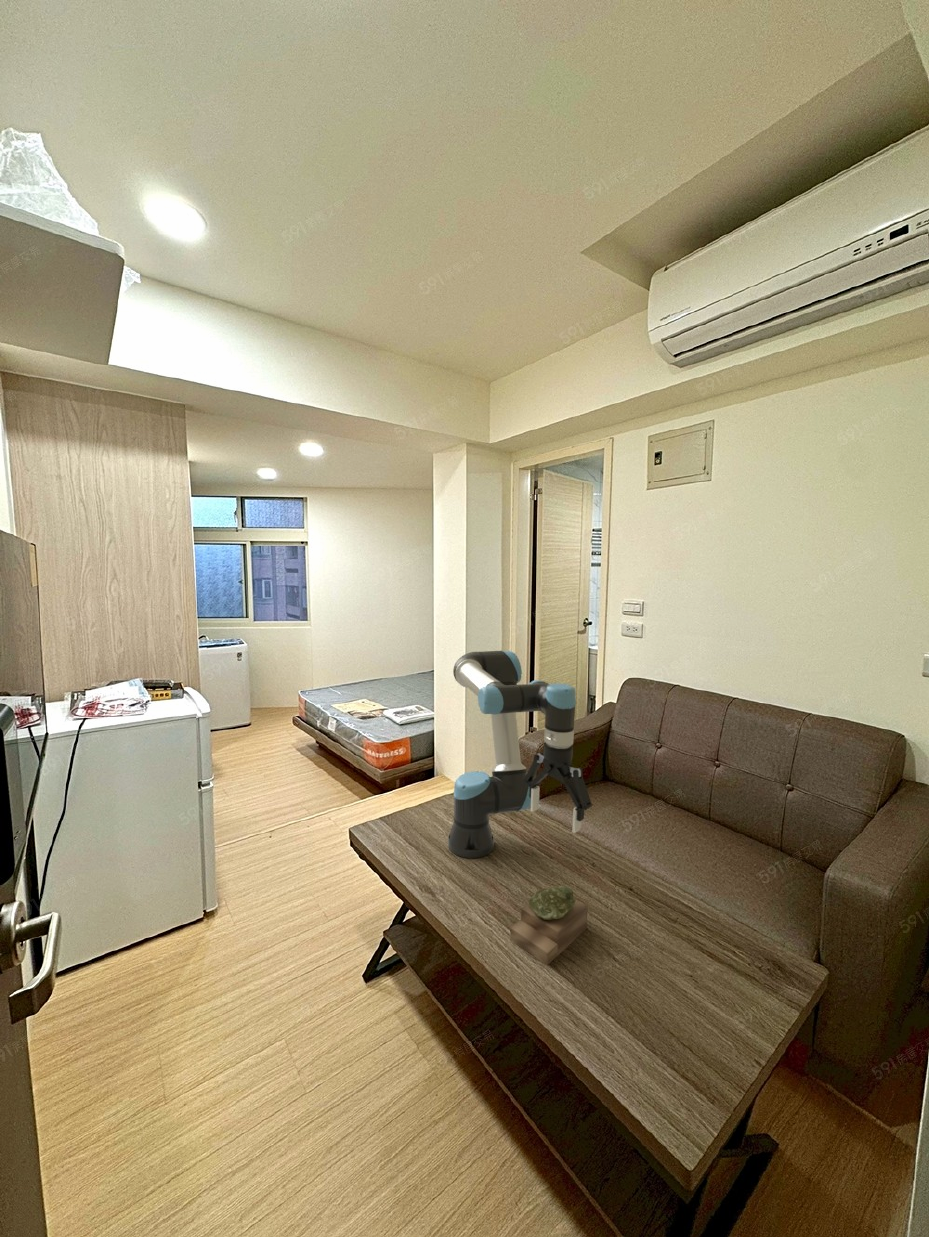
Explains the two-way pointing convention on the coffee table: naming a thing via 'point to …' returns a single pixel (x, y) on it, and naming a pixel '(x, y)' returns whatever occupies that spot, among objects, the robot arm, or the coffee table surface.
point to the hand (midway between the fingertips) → (554, 820)
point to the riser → (548, 931)
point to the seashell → (552, 902)
